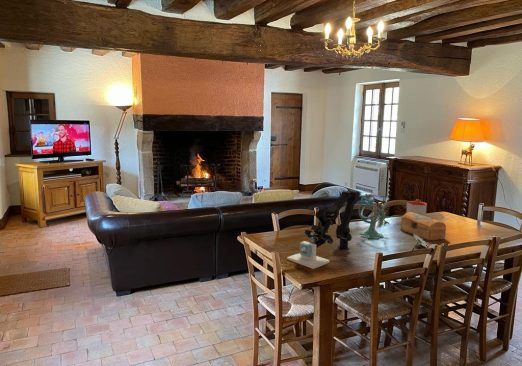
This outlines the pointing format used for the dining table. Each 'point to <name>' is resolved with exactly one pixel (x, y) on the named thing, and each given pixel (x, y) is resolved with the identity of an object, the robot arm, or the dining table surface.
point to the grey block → (313, 240)
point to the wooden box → (423, 226)
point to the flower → (420, 240)
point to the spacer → (307, 249)
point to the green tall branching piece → (371, 232)
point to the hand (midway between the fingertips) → (311, 248)
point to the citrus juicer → (417, 207)
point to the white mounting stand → (309, 258)
